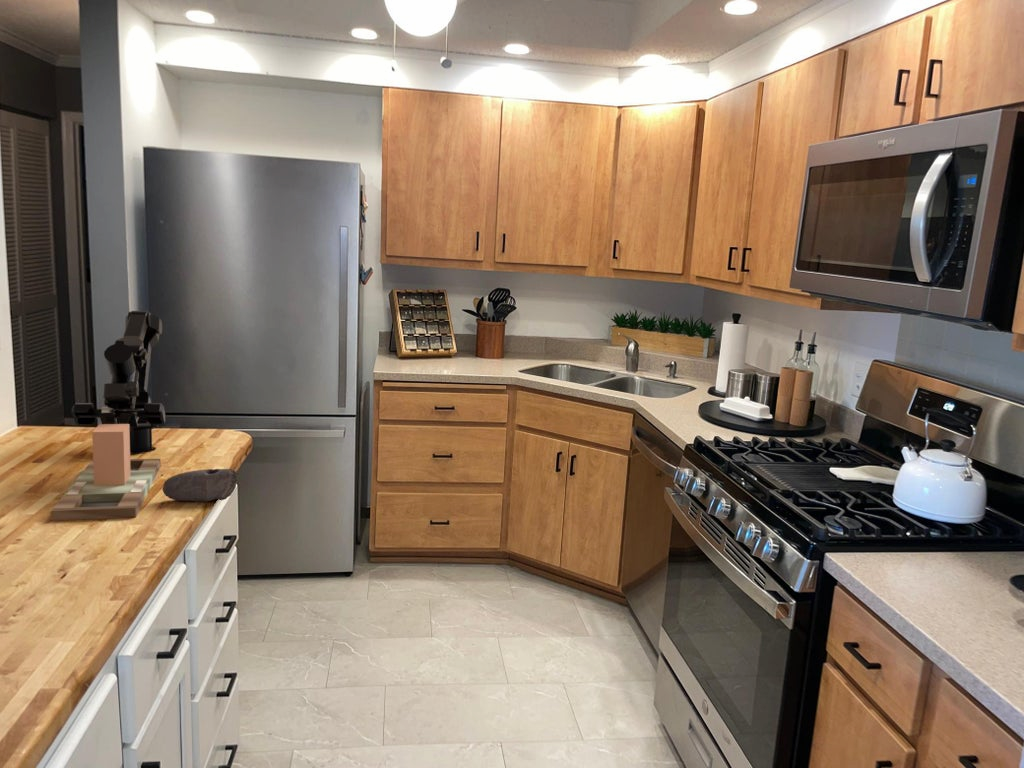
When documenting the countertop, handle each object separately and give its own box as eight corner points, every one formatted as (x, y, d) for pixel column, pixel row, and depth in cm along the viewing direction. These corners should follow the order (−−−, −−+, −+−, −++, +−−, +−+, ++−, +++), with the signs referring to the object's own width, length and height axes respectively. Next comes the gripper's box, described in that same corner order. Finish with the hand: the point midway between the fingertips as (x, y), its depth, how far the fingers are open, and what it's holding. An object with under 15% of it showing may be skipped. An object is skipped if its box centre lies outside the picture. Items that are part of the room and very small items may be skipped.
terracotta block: (101, 475, 169) (99, 424, 167) (130, 475, 171) (129, 423, 169) (94, 485, 163) (92, 432, 161) (124, 484, 165) (123, 431, 163)
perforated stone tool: (160, 505, 160) (159, 474, 159) (165, 497, 165) (164, 466, 164) (235, 504, 164) (235, 473, 162) (237, 495, 169) (237, 466, 167)
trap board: (92, 467, 181) (92, 459, 180) (160, 466, 185) (160, 457, 185) (51, 520, 148) (50, 510, 147) (135, 517, 152) (135, 506, 152)
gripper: (71, 368, 169) (60, 427, 160) (162, 369, 174) (156, 426, 166) (81, 395, 177) (71, 453, 169) (167, 395, 183) (162, 451, 175)
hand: (115, 445), depth 169 cm, fingers closed, pressing on terracotta block
